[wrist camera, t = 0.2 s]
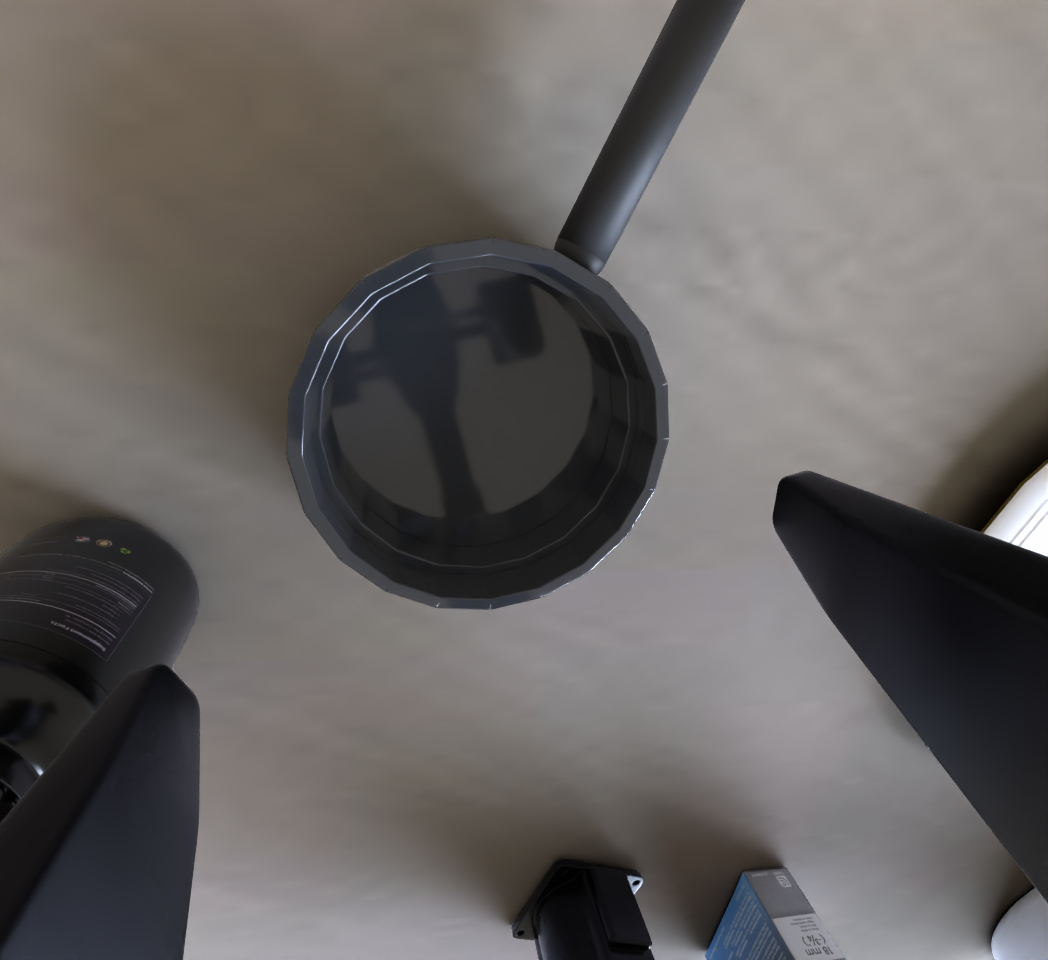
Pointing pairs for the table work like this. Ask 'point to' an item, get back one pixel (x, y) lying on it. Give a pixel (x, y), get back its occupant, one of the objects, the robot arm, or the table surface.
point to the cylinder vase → (1023, 930)
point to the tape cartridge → (771, 922)
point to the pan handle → (645, 128)
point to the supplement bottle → (80, 632)
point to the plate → (1024, 514)
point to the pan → (477, 424)
